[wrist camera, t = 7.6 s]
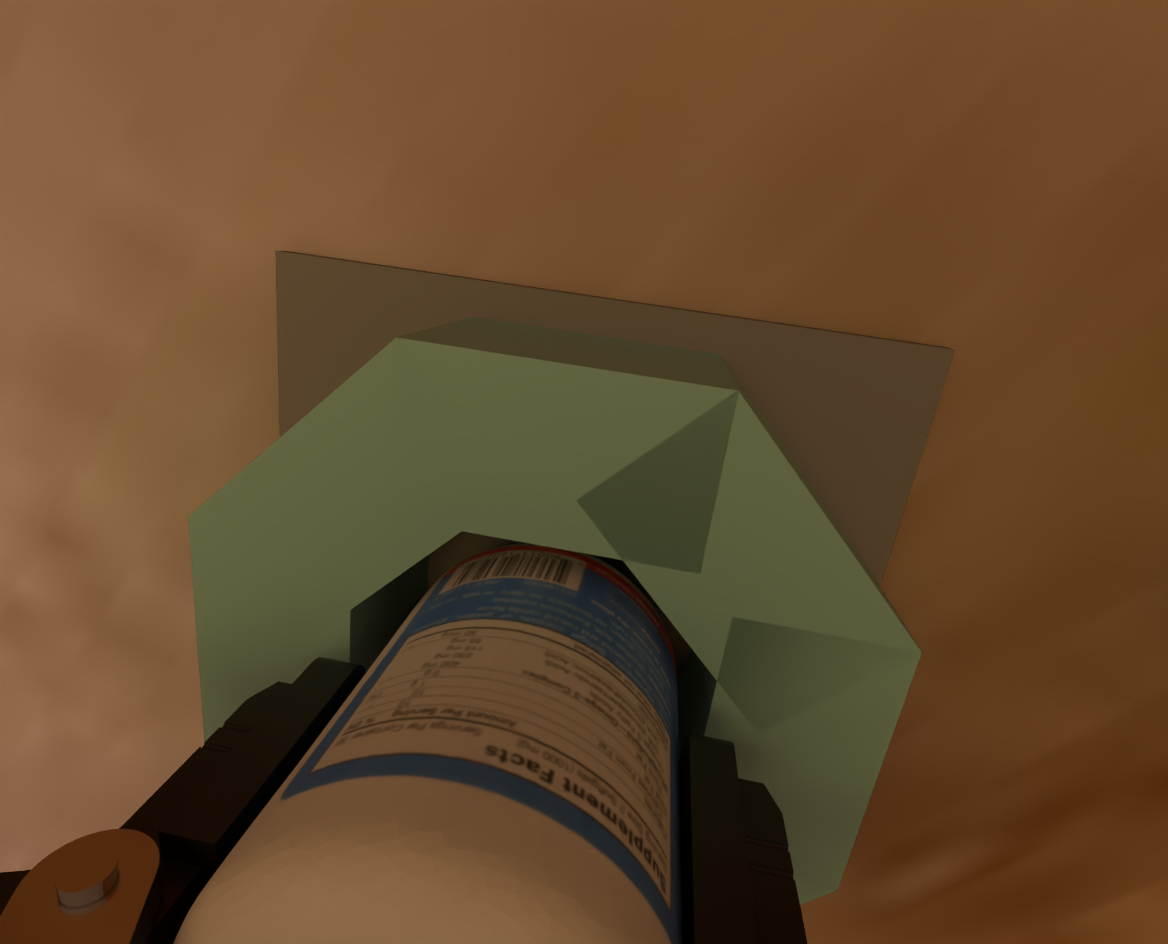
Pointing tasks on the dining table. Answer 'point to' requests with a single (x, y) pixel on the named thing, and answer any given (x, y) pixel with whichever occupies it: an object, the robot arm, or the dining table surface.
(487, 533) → the green faceted planter
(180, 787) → the robot arm
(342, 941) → the pill bottle
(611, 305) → the felt mat
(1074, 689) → the dining table surface
